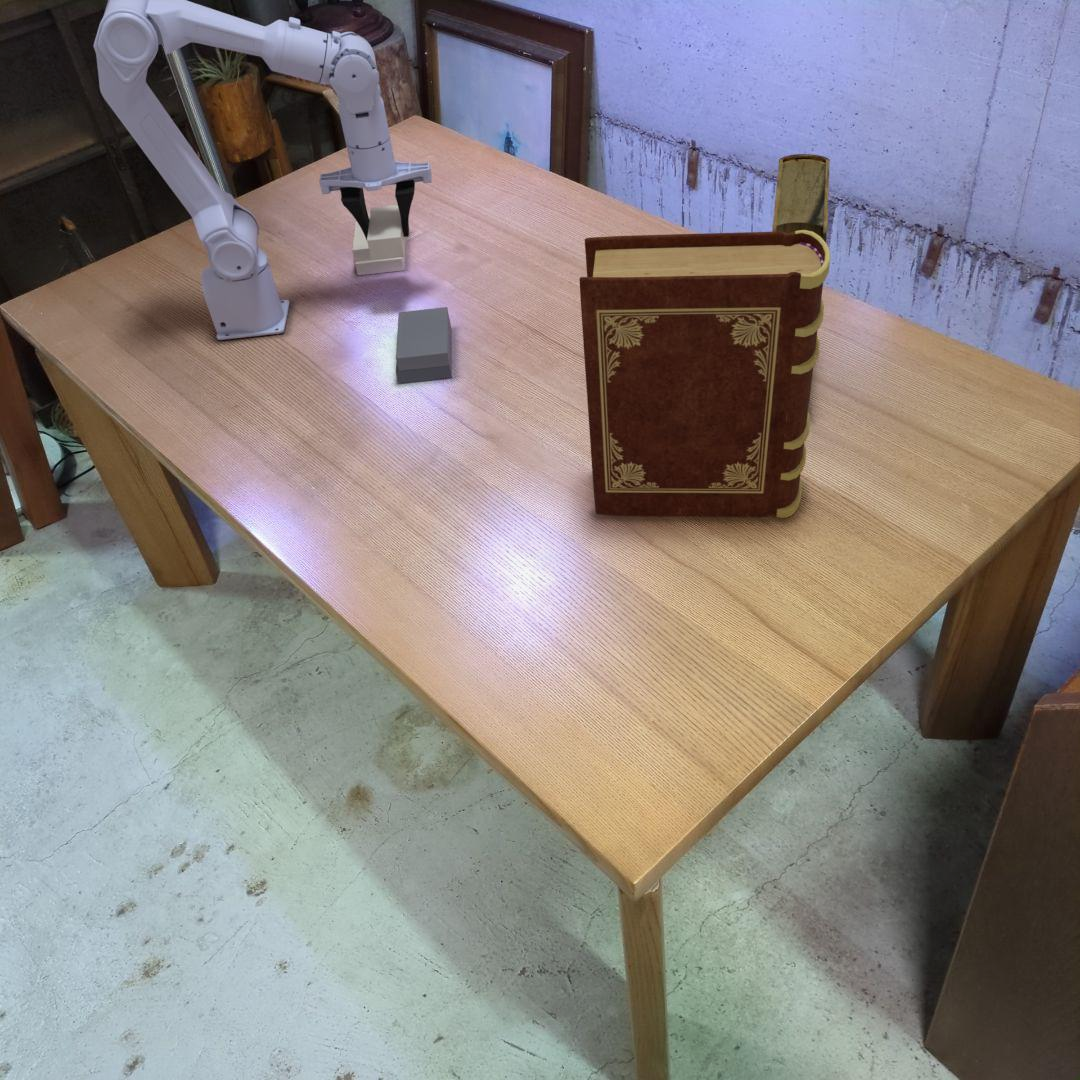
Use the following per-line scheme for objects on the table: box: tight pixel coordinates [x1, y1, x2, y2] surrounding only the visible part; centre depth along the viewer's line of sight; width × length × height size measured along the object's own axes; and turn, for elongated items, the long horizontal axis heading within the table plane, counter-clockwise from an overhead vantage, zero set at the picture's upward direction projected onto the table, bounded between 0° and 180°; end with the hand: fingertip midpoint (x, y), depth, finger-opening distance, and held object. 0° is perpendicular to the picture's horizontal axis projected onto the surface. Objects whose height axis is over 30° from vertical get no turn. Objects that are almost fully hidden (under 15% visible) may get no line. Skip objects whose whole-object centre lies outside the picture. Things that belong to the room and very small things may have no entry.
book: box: [771, 153, 830, 244], centre depth 122 cm, size 16×6×25 cm, turn 168°
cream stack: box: [351, 212, 407, 276], centre depth 159 cm, size 7×11×4 cm, turn 4°
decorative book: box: [579, 230, 831, 519], centre depth 107 cm, size 22×8×30 cm, turn 84°
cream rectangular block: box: [367, 204, 407, 260], centre depth 144 cm, size 4×9×3 cm, turn 3°
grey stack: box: [395, 306, 453, 385], centre depth 139 cm, size 7×11×4 cm, turn 4°
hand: (387, 235), depth 145 cm, fingers closed on cream rectangular block, 4 cm apart
